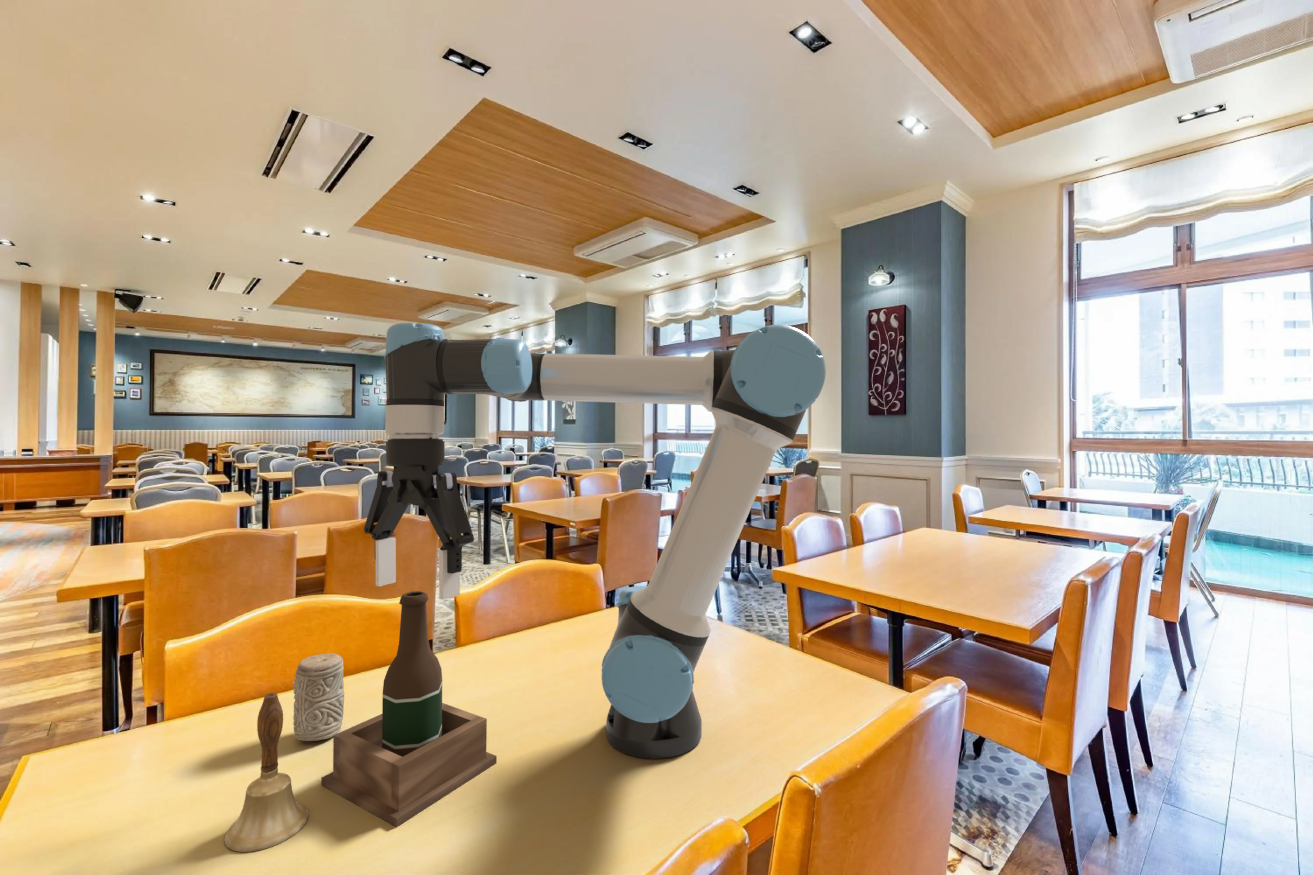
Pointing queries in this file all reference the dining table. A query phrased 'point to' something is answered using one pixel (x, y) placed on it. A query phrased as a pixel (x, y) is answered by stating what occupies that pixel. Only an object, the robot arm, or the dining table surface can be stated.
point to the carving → (318, 697)
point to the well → (407, 766)
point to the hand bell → (267, 793)
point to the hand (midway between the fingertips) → (416, 590)
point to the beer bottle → (412, 684)
